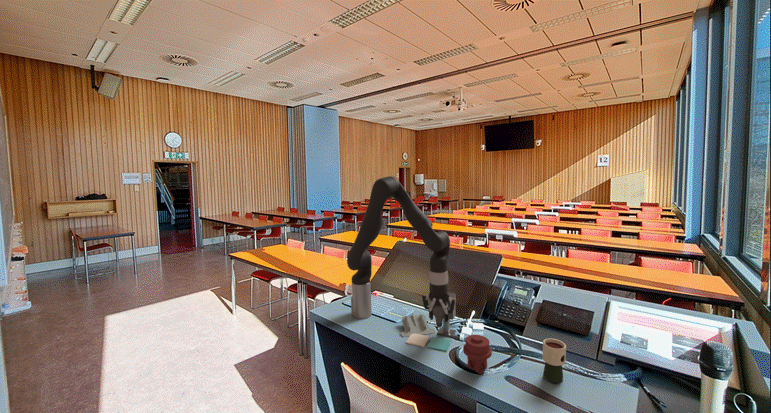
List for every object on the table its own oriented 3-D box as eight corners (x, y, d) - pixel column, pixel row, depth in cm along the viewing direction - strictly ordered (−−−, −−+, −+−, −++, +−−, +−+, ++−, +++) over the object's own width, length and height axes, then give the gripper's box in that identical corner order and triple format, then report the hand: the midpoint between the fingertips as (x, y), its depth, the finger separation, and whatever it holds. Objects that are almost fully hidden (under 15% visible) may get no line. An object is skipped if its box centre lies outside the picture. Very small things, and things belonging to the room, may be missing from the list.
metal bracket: (396, 313, 158) (427, 309, 160) (396, 322, 160) (426, 319, 162) (402, 336, 145) (436, 332, 147) (402, 346, 147) (435, 342, 149)
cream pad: (405, 343, 142) (405, 342, 142) (412, 334, 149) (412, 332, 149) (423, 346, 139) (423, 345, 139) (429, 337, 146) (429, 336, 146)
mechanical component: (457, 369, 123) (472, 357, 130) (482, 381, 116) (496, 368, 123) (457, 338, 122) (472, 327, 128) (482, 348, 114) (497, 337, 121)
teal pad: (427, 347, 138) (427, 346, 138) (432, 338, 145) (432, 336, 145) (446, 351, 135) (446, 350, 135) (451, 341, 142) (451, 340, 142)
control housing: (437, 334, 148) (436, 295, 145) (440, 328, 153) (440, 290, 150) (453, 337, 145) (453, 297, 143) (455, 331, 150) (455, 293, 148)
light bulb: (431, 329, 137) (431, 306, 136) (433, 323, 142) (433, 300, 141) (445, 331, 135) (445, 307, 134) (446, 324, 141) (446, 301, 139)
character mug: (563, 391, 110) (565, 354, 108) (539, 384, 114) (540, 348, 112) (565, 372, 119) (567, 338, 118) (543, 367, 123) (544, 333, 121)
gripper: (418, 282, 136) (419, 321, 138) (454, 286, 130) (454, 327, 132) (424, 275, 142) (425, 313, 145) (458, 279, 137) (458, 319, 139)
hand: (439, 320), depth 138 cm, fingers closed on light bulb, 5 cm apart
